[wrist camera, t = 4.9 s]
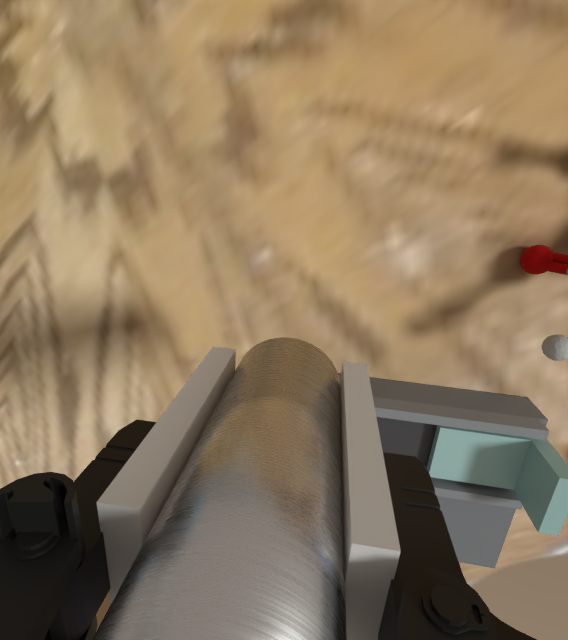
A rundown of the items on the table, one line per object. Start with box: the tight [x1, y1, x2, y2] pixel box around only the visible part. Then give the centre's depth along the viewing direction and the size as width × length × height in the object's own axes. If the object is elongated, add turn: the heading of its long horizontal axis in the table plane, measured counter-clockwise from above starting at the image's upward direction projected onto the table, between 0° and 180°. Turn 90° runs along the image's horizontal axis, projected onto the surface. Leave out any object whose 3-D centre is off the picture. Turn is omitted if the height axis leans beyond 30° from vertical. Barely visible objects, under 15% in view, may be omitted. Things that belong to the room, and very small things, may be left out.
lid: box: [426, 425, 568, 536], centre depth 21 cm, size 6×4×4 cm, turn 86°
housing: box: [338, 373, 549, 568], centre depth 25 cm, size 14×12×4 cm
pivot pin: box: [92, 338, 347, 640], centre depth 8 cm, size 4×4×10 cm
